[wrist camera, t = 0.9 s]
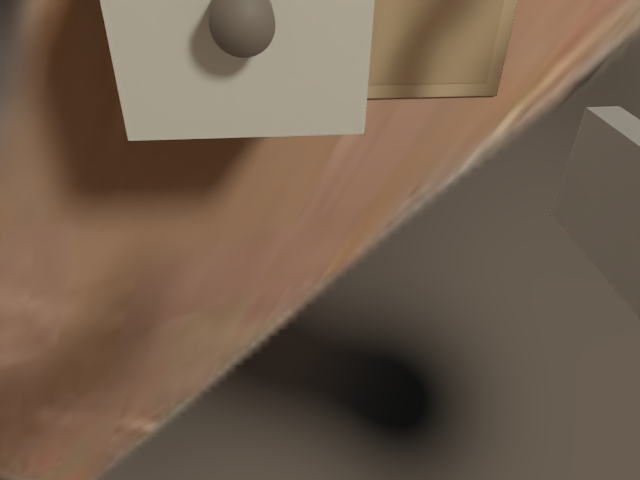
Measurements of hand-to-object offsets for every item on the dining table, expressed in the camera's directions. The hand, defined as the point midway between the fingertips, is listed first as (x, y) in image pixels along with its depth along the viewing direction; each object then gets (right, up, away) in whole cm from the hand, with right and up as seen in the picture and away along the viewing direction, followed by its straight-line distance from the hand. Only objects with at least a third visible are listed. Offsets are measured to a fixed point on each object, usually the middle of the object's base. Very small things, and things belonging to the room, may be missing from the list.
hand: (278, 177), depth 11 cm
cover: (-4, +16, +21) cm, 26 cm away
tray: (+8, +13, +24) cm, 29 cm away
